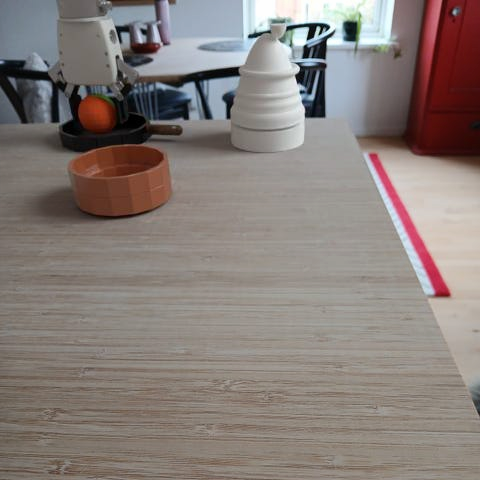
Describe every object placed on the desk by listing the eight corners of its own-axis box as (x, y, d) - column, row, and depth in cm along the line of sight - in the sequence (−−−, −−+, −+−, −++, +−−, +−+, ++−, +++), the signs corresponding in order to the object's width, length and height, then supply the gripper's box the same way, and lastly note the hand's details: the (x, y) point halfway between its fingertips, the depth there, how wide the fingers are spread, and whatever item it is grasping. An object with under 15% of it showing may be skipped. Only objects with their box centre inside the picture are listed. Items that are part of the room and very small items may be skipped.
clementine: (132, 131, 96) (126, 90, 92) (109, 142, 91) (102, 99, 87) (98, 126, 99) (91, 87, 95) (74, 136, 94) (65, 95, 90)
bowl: (59, 215, 68) (49, 175, 65) (102, 178, 79) (95, 142, 75) (152, 222, 66) (146, 181, 62) (184, 183, 76) (180, 146, 73)
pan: (45, 150, 91) (41, 134, 89) (87, 123, 103) (84, 109, 102) (168, 155, 86) (166, 139, 84) (196, 127, 99) (195, 112, 97)
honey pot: (316, 135, 92) (323, 20, 81) (280, 157, 84) (282, 31, 73) (255, 126, 98) (254, 17, 87) (216, 145, 90) (209, 27, 79)
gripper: (140, 6, 84) (153, 117, 95) (45, 6, 88) (68, 113, 98) (122, 12, 79) (137, 129, 89) (21, 11, 82) (47, 124, 92)
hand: (101, 120), depth 94 cm, fingers closed on clementine, 8 cm apart
